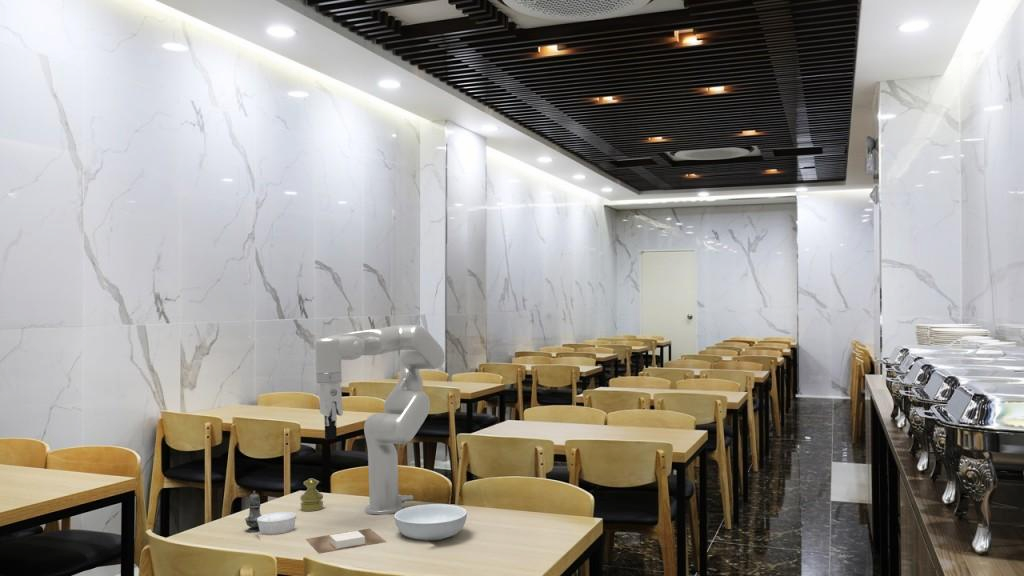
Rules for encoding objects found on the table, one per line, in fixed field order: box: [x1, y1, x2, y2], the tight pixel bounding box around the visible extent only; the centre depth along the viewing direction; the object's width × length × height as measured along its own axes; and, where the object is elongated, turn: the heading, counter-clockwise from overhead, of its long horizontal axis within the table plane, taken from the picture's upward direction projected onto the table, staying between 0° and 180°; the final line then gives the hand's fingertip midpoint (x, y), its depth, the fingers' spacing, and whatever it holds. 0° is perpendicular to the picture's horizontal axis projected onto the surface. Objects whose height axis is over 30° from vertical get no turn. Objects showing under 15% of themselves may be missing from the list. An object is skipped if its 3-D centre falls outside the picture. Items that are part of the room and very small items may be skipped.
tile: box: [329, 530, 365, 549], centre depth 225 cm, size 8×2×7 cm
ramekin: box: [257, 511, 297, 535], centre depth 242 cm, size 11×11×5 cm
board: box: [305, 528, 388, 555], centre depth 229 cm, size 19×16×1 cm
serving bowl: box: [393, 503, 468, 542], centre depth 234 cm, size 21×21×7 cm
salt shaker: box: [244, 490, 263, 533], centre depth 247 cm, size 6×6×12 cm
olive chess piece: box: [299, 478, 324, 512], centre depth 271 cm, size 7×7×10 cm
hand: (330, 438), depth 247 cm, fingers closed
